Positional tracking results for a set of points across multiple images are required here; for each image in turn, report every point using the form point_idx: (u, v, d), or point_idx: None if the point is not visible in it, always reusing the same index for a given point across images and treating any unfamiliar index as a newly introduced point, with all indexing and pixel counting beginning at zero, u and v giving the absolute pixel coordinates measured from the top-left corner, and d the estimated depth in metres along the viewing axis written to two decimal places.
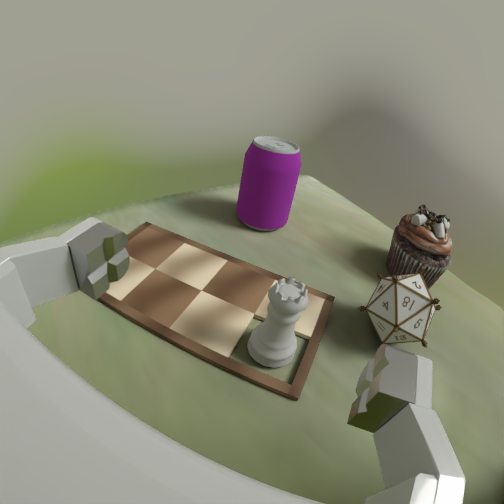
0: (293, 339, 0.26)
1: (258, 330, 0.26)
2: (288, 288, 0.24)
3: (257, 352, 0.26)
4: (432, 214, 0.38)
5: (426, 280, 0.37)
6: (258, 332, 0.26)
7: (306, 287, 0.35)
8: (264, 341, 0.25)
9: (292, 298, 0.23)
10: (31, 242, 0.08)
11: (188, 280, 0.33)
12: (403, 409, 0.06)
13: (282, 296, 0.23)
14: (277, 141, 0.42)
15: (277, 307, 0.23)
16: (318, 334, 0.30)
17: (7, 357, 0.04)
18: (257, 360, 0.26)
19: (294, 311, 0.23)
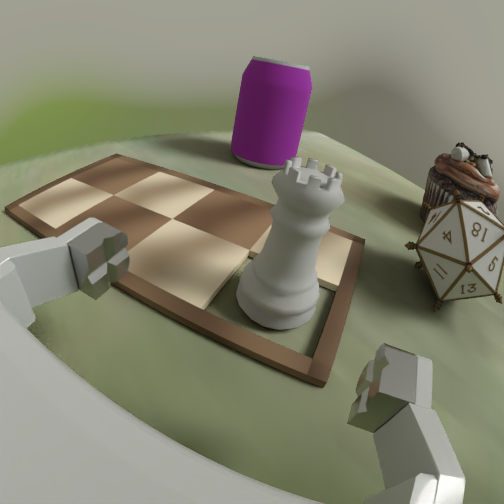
0: (315, 278, 0.15)
1: (254, 261, 0.16)
2: (307, 170, 0.13)
3: (252, 299, 0.15)
4: None
5: None
6: (254, 264, 0.16)
7: None
8: (265, 277, 0.15)
9: (318, 178, 0.12)
10: (31, 242, 0.08)
11: (155, 207, 0.22)
12: (403, 409, 0.06)
13: (299, 175, 0.12)
14: None
15: (290, 196, 0.12)
16: (349, 283, 0.19)
17: (7, 357, 0.04)
18: (252, 316, 0.15)
19: (322, 204, 0.12)
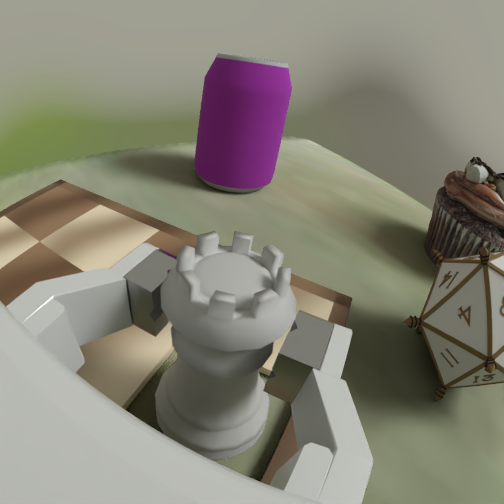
0: (257, 403, 0.10)
1: (169, 375, 0.10)
2: (226, 263, 0.07)
3: (166, 427, 0.09)
4: None
5: None
6: (168, 380, 0.10)
7: (298, 279, 0.19)
8: (179, 406, 0.09)
9: (232, 297, 0.06)
10: (78, 275, 0.07)
11: (80, 261, 0.16)
12: (309, 375, 0.06)
13: (196, 289, 0.06)
14: None
15: (180, 328, 0.06)
16: None
17: (7, 357, 0.04)
18: None
19: (239, 345, 0.06)
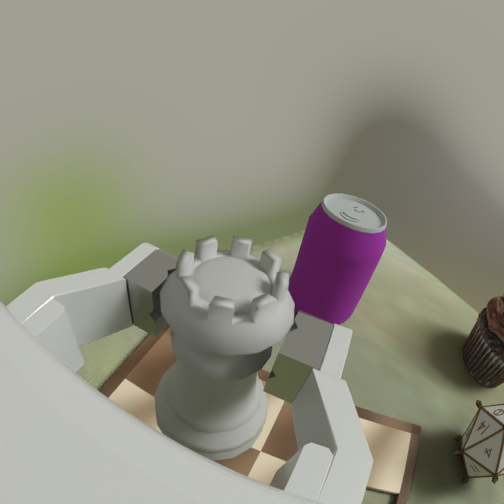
0: (256, 404, 0.10)
1: (169, 377, 0.10)
2: (225, 268, 0.07)
3: (166, 428, 0.09)
4: None
5: None
6: (168, 382, 0.10)
7: (390, 419, 0.22)
8: (178, 408, 0.09)
9: (231, 302, 0.06)
10: (78, 275, 0.07)
11: None
12: (309, 376, 0.06)
13: (196, 294, 0.06)
14: (351, 202, 0.29)
15: (180, 332, 0.06)
16: (406, 487, 0.17)
17: (7, 357, 0.04)
18: None
19: (239, 349, 0.06)
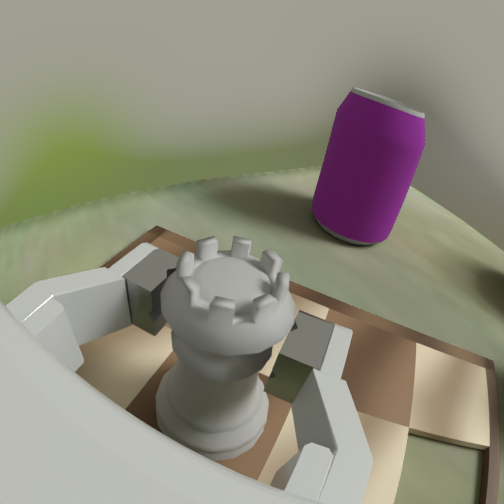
0: (256, 404, 0.10)
1: (170, 378, 0.10)
2: (225, 268, 0.07)
3: (167, 429, 0.09)
4: None
5: None
6: (168, 383, 0.10)
7: (459, 350, 0.16)
8: (179, 408, 0.09)
9: (232, 302, 0.06)
10: (77, 274, 0.07)
11: None
12: (309, 376, 0.06)
13: (195, 295, 0.06)
14: None
15: (180, 333, 0.06)
16: (496, 438, 0.11)
17: (7, 357, 0.04)
18: None
19: (239, 350, 0.06)
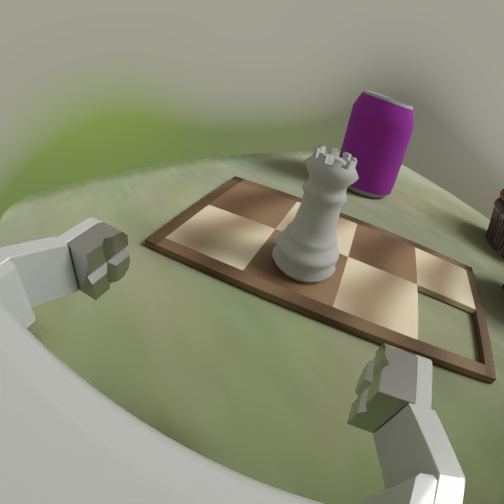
0: (335, 240, 0.19)
1: (288, 228, 0.20)
2: (330, 156, 0.17)
3: (288, 256, 0.19)
4: None
5: None
6: (289, 229, 0.20)
7: (445, 256, 0.26)
8: (298, 238, 0.19)
9: (340, 160, 0.16)
10: (31, 242, 0.08)
11: None
12: (403, 409, 0.06)
13: (326, 158, 0.16)
14: None
15: (320, 173, 0.16)
16: (479, 306, 0.20)
17: (7, 357, 0.04)
18: (287, 271, 0.19)
19: (343, 179, 0.16)
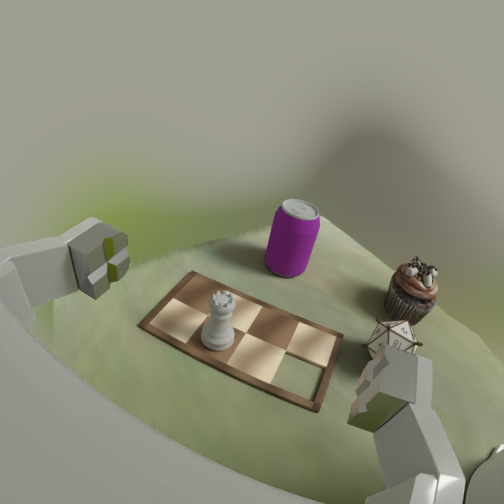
0: (230, 331, 0.39)
1: (206, 324, 0.39)
2: (221, 297, 0.36)
3: (205, 339, 0.38)
4: (423, 265, 0.48)
5: (415, 318, 0.47)
6: (206, 326, 0.39)
7: (322, 327, 0.45)
8: (209, 332, 0.38)
9: (222, 304, 0.35)
10: (31, 242, 0.08)
11: (234, 325, 0.43)
12: (403, 409, 0.06)
13: (216, 302, 0.35)
14: (300, 203, 0.52)
15: (213, 309, 0.35)
16: (331, 365, 0.40)
17: (7, 357, 0.04)
18: (206, 345, 0.39)
19: (223, 312, 0.35)
